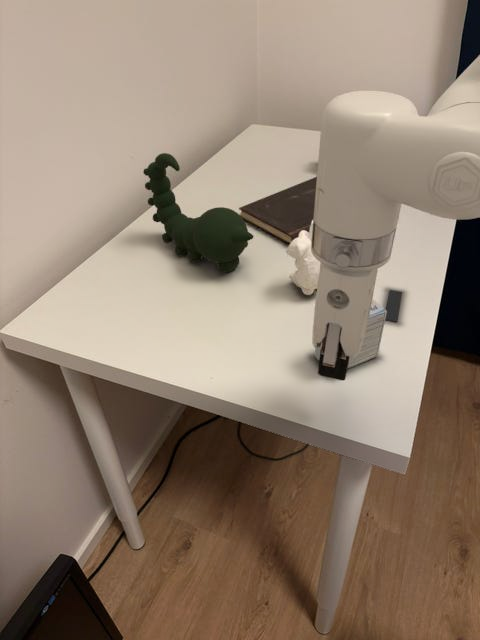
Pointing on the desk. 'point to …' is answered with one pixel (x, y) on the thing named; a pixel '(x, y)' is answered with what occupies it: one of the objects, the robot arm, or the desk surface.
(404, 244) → the desk surface
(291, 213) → the hardcover book
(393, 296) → the strip
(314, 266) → the white bunny figurine
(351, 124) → the robot arm
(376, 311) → the medicine box
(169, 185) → the toy figurine
